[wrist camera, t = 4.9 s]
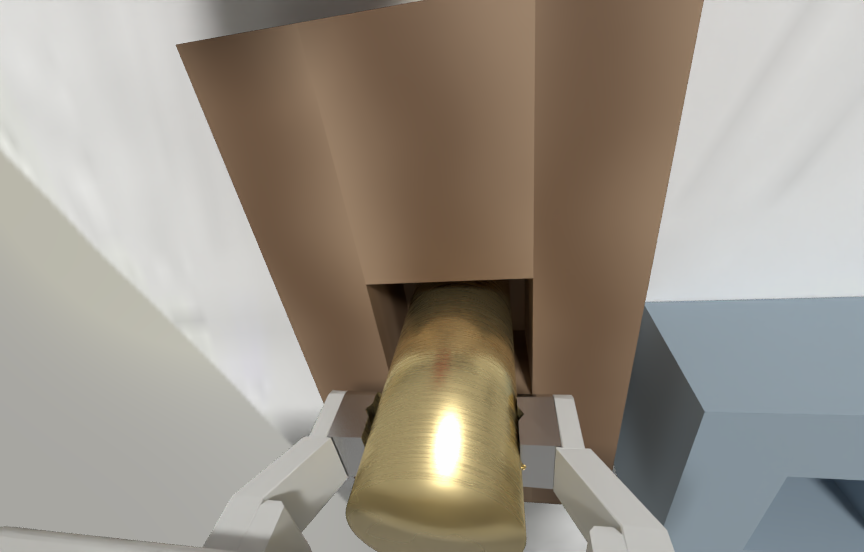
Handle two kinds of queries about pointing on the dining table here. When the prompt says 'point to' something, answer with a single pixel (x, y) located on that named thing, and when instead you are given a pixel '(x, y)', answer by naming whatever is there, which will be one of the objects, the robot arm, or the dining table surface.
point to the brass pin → (446, 430)
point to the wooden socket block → (460, 176)
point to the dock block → (749, 424)
